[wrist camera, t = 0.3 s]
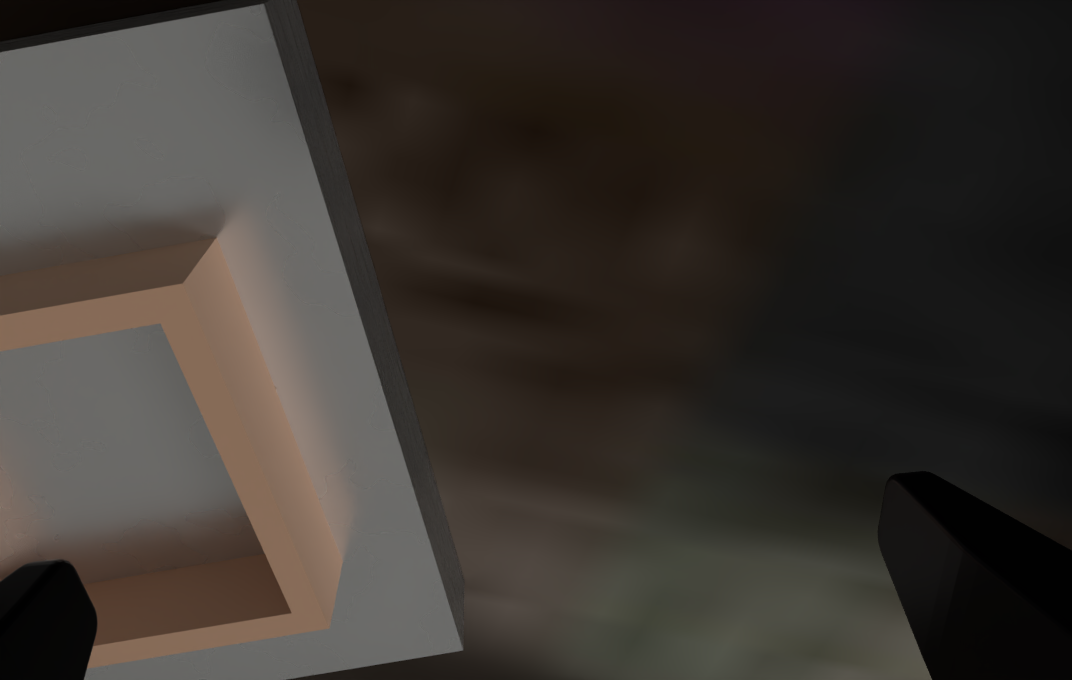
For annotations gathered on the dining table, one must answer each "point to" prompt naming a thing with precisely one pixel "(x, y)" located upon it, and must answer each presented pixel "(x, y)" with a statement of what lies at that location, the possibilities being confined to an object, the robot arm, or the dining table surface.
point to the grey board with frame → (206, 359)
